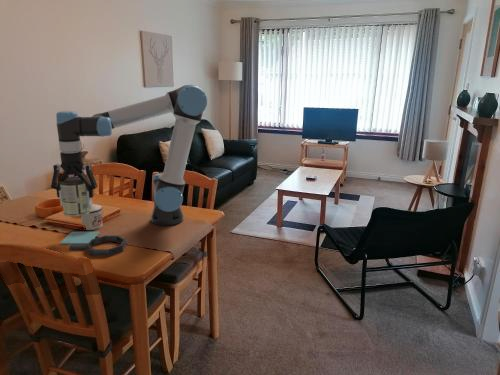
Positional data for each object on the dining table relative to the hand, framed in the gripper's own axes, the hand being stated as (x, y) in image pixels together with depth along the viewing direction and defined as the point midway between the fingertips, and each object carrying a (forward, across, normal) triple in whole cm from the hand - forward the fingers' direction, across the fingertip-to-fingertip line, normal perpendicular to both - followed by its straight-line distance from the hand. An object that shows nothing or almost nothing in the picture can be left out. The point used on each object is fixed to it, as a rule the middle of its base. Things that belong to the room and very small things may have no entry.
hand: (76, 204), depth 148 cm
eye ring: (+15, -11, +10) cm, 21 cm away
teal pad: (+15, 0, 0) cm, 15 cm away
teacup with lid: (+15, -1, -14) cm, 21 cm away
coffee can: (+3, 0, 0) cm, 3 cm away
